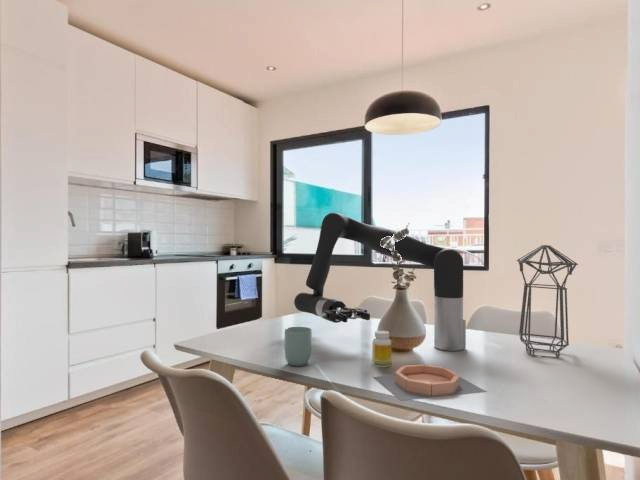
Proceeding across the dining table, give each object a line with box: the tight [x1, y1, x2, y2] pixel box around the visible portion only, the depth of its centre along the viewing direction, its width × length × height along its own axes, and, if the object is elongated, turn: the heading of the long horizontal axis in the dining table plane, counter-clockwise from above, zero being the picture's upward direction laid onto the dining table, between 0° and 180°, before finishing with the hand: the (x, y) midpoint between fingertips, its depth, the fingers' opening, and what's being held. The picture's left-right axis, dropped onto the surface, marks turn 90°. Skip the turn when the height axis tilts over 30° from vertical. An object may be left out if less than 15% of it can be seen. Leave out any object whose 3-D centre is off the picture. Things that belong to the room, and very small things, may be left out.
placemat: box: [372, 374, 488, 402], centre depth 98 cm, size 22×16×1 cm
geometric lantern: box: [516, 244, 579, 359], centre depth 128 cm, size 16×16×35 cm
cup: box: [283, 326, 313, 367], centre depth 115 cm, size 8×8×10 cm
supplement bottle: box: [371, 330, 392, 368], centre depth 114 cm, size 5×5×10 cm
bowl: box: [394, 363, 460, 396], centre depth 98 cm, size 14×14×2 cm
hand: (358, 317), depth 124 cm, fingers open, 8 cm apart
